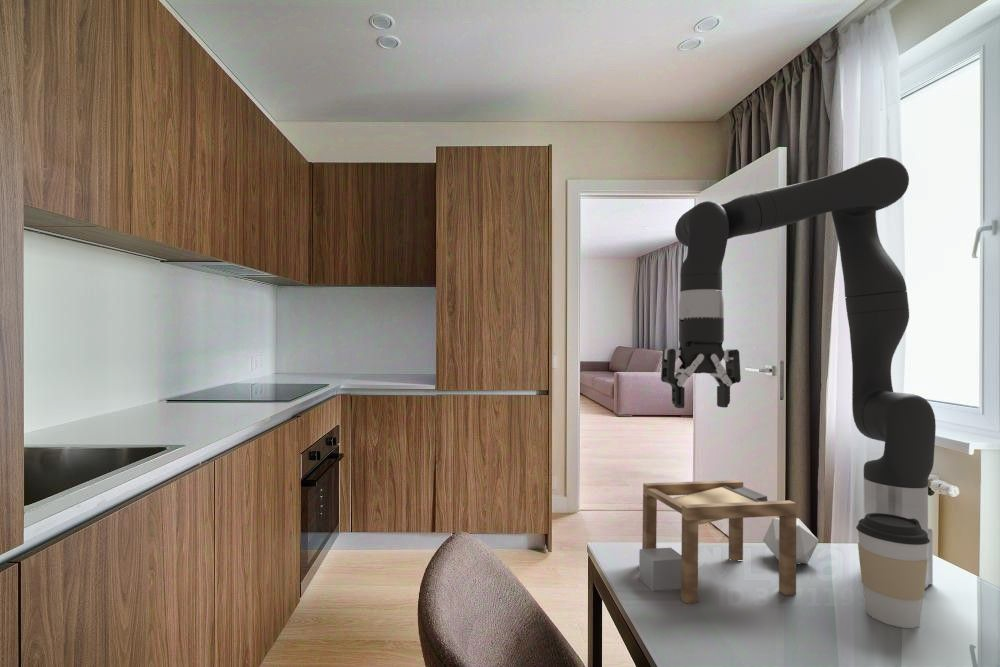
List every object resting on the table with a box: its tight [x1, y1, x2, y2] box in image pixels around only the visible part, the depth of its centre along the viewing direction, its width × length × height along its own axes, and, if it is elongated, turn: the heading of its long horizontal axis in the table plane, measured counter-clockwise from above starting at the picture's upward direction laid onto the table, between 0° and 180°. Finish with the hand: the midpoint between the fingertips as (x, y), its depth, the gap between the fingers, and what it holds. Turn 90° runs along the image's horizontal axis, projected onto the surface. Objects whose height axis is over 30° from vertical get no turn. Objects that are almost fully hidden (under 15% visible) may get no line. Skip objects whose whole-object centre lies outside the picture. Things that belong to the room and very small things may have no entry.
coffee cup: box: [855, 513, 930, 629], centre depth 80 cm, size 9×9×15 cm
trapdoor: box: [666, 486, 768, 525], centre depth 92 cm, size 15×11×3 cm
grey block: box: [638, 547, 681, 592], centre depth 89 cm, size 5×5×6 cm
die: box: [762, 517, 820, 564], centre depth 100 cm, size 8×9×10 cm
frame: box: [641, 479, 797, 604], centre depth 91 cm, size 20×15×15 cm
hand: (700, 407), depth 92 cm, fingers open, 8 cm apart
